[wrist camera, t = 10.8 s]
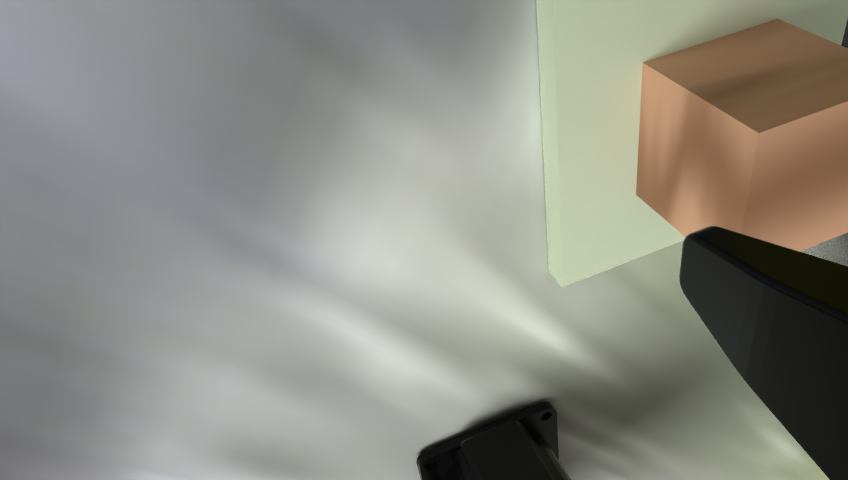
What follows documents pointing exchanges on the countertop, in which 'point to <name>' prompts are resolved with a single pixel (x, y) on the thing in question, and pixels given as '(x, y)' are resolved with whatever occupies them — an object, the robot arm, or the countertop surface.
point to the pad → (623, 112)
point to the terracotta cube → (749, 136)
